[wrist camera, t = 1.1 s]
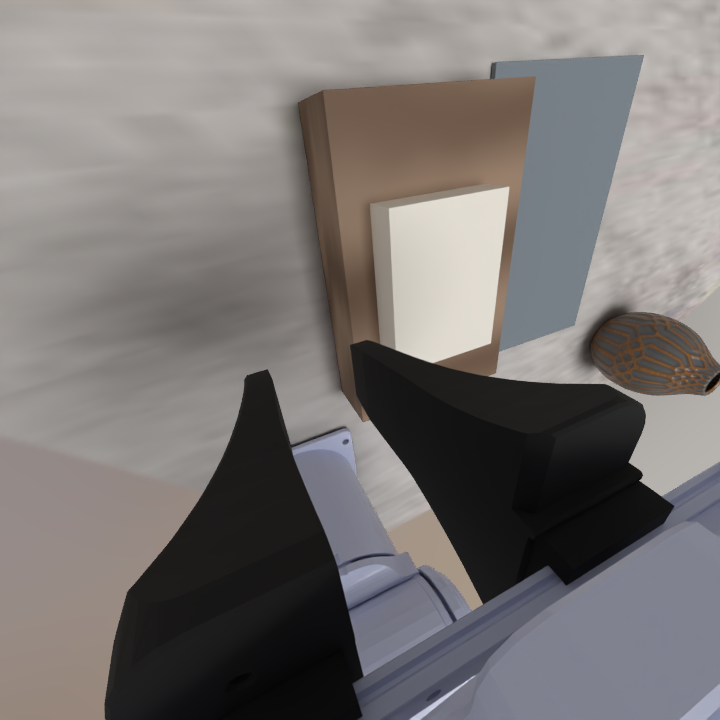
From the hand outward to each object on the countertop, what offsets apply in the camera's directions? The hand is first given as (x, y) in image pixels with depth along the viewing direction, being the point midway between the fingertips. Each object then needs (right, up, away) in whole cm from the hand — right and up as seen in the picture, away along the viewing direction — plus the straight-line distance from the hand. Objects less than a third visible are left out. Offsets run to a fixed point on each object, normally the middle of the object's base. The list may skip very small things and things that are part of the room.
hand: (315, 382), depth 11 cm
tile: (+5, +5, +7) cm, 10 cm away
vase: (+25, +3, +23) cm, 34 cm away
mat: (+14, +10, +13) cm, 22 cm away
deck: (+4, +7, +10) cm, 13 cm away
